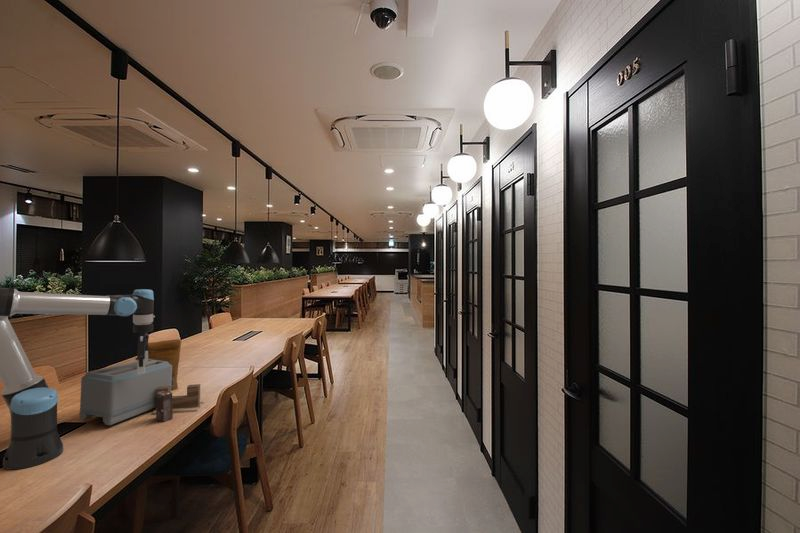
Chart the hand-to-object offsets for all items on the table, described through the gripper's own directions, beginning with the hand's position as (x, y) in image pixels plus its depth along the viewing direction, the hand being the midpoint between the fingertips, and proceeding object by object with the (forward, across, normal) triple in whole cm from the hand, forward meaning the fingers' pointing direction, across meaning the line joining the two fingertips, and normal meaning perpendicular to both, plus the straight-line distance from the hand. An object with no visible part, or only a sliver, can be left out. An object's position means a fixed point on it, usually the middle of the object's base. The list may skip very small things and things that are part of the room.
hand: (142, 369), depth 165 cm
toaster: (+21, +8, +5) cm, 23 cm away
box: (+21, -10, -9) cm, 25 cm away
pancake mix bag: (+23, +34, -5) cm, 41 cm away
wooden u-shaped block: (+21, +1, -14) cm, 26 cm away
